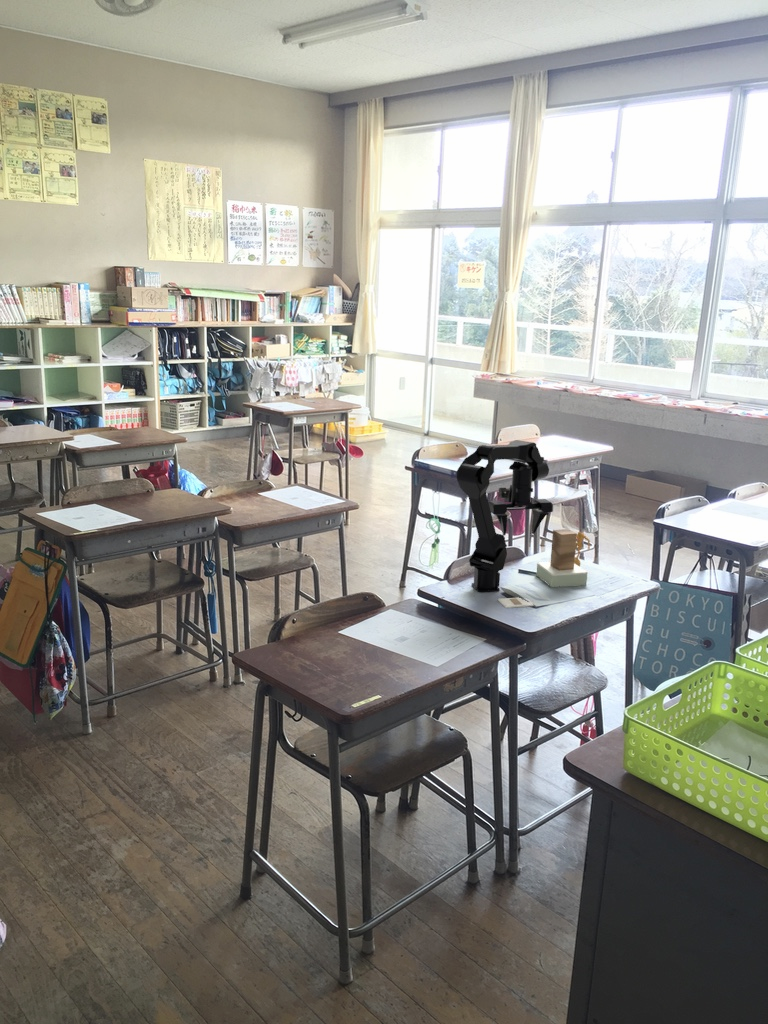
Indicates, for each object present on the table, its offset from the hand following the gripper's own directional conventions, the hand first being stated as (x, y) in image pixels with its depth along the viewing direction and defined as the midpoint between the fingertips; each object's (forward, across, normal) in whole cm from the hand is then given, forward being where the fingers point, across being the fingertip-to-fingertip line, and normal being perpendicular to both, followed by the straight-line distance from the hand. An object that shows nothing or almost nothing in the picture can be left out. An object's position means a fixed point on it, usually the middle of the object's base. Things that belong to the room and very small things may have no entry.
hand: (518, 534), depth 243 cm
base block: (+13, -12, +6) cm, 19 cm away
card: (+13, +9, +22) cm, 27 cm away
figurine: (+13, -21, -3) cm, 25 cm away
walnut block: (+9, -12, +6) cm, 16 cm away
